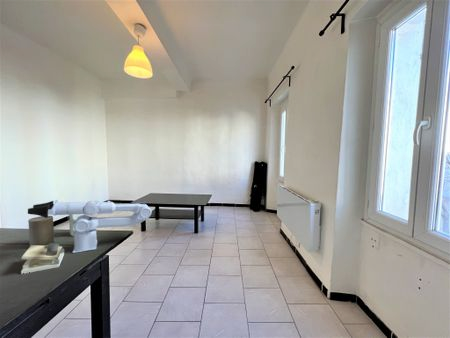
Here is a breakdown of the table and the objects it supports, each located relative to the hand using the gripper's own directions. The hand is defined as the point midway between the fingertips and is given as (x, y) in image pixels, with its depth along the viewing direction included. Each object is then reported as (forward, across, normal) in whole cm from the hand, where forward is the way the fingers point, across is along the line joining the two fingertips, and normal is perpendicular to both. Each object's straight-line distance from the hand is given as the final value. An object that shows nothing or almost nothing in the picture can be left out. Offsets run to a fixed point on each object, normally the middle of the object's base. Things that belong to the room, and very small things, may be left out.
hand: (30, 209), depth 95 cm
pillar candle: (-2, -16, +22) cm, 27 cm away
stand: (-8, +10, +21) cm, 24 cm away
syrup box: (-16, -25, +21) cm, 36 cm away
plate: (-7, +9, +17) cm, 21 cm away
